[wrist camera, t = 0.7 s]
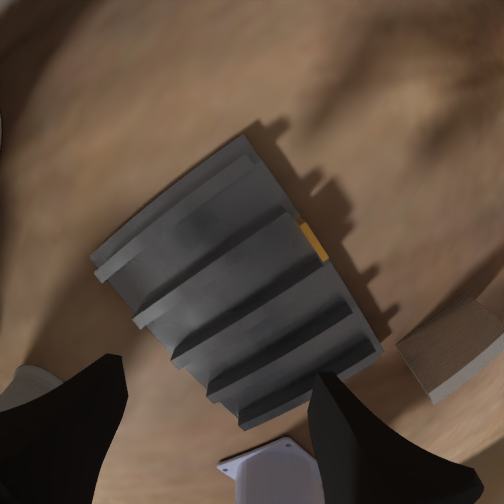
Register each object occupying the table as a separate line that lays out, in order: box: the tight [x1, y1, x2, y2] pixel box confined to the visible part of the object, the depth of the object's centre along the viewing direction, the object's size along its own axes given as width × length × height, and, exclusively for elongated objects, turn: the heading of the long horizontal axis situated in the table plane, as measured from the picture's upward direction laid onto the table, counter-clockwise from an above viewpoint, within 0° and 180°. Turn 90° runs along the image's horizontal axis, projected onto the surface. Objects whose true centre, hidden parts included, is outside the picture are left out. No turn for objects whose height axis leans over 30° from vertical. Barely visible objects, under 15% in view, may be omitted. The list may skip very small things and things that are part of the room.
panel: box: [396, 292, 504, 405], centre depth 19 cm, size 2×7×6 cm, turn 125°
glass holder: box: [0, 365, 63, 412], centre depth 17 cm, size 9×14×15 cm, turn 171°
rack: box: [89, 134, 384, 431], centre depth 19 cm, size 17×12×2 cm
